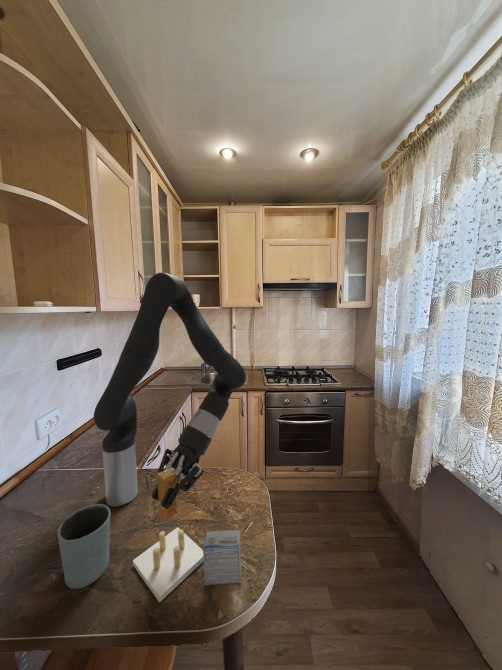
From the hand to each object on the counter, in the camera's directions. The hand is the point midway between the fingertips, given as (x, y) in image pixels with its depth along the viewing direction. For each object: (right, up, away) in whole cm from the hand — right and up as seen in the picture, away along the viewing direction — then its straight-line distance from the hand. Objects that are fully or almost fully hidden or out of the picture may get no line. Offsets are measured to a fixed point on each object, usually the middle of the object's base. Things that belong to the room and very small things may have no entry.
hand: (159, 502), depth 56 cm
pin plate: (+2, -16, +2) cm, 16 cm away
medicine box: (+15, -16, -1) cm, 21 cm away
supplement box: (+1, -4, +2) cm, 5 cm away
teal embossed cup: (-17, -16, +1) cm, 23 cm away
